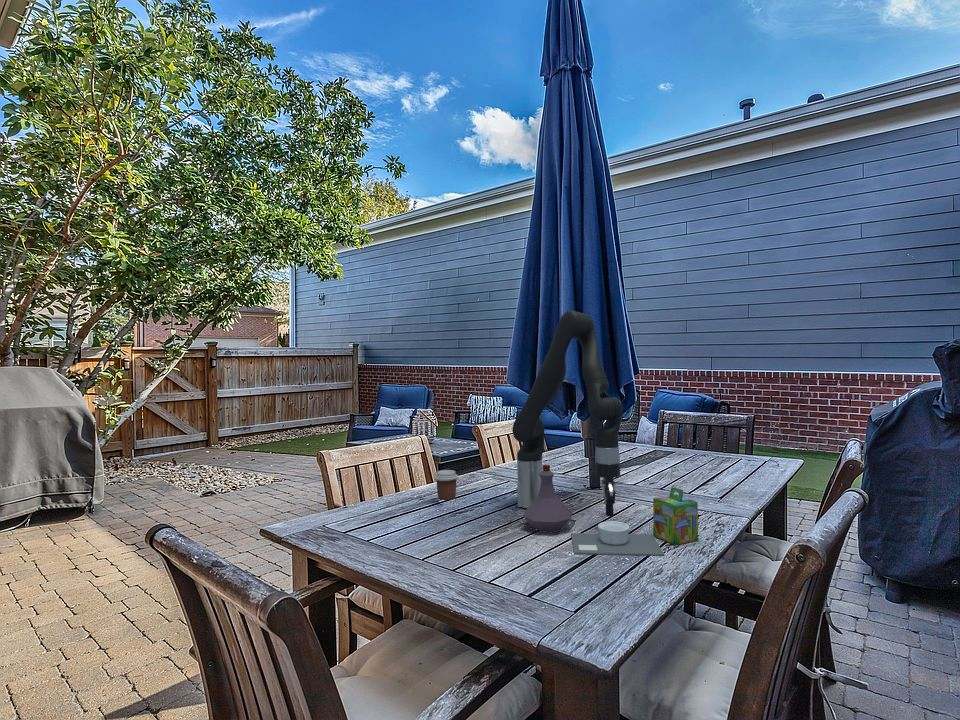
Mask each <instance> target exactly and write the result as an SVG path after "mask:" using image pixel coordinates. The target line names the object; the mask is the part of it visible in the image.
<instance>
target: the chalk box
mask: <svg viewBox="0 0 960 720" xmlns="http://www.w3.org/2000/svg"><path fill="white" fill-rule="evenodd" d="M676 492H677V493H678V495H676V494H674V493H676ZM652 499H653V500H652V501H653V502H652V504H653V507H652V508H653V509H652V514H653V515H652V517H653V519H652V520H653V525H652V528H653V529H652V532H653V533H652V535H653V537H655V538H658V539H661V540H663V541H665V542H667V543H670V544H671V545H673V546H677V545H683V544H687V543H691V542H698V541H699V509H698V508H699V506H698V505H699V504H698V501H696V500H693V499H691V498H687V497H684V489H681V488H679V487H674V486H671V488H670V492H669V495H667V496H666V495H665V496H659V497H653V498H652ZM697 540H698V541H697Z"/></svg>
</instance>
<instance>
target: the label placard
mask: <svg viewBox="0 0 960 720" xmlns="http://www.w3.org/2000/svg"><path fill="white" fill-rule="evenodd" d="M570 535H571V542H572V548H573V553H574V555H595V556H596V555H601V556H602V555H604V556H605V555H606V556H608V555H609V556H642V557H643V556H646V557H647V556H652V557H656V556H657V557H665V555H666V554H665V553H664V552H663V550H662V548H661V547H660V545H659V543H658V542H657V539H656V538H655V536H653V533H652V534H651V533H650V534H649V533H648V534H646V533H628V542H627V543H625V544H622V545H611V544H606V543H604V542H602V541H601V540H600V535H599V533H597V532H596V533H593V532H591V533H587V532H586V533H584V532H580V533H579V532H571V533H570Z"/></svg>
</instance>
